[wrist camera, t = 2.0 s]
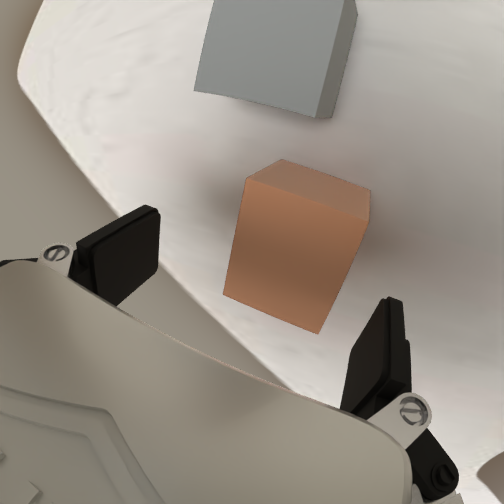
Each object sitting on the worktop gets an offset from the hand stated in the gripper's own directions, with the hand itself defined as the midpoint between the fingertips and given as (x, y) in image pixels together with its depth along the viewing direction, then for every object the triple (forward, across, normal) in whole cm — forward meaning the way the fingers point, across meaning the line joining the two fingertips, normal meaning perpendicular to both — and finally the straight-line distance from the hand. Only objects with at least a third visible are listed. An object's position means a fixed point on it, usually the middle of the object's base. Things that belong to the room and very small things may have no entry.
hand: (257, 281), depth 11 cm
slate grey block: (+7, +2, -9) cm, 12 cm away
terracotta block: (+7, -1, 0) cm, 7 cm away
